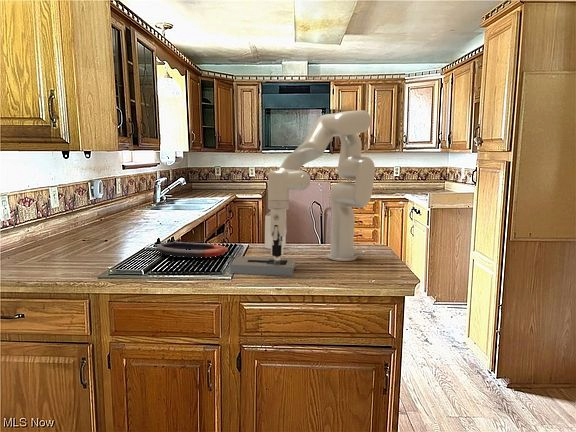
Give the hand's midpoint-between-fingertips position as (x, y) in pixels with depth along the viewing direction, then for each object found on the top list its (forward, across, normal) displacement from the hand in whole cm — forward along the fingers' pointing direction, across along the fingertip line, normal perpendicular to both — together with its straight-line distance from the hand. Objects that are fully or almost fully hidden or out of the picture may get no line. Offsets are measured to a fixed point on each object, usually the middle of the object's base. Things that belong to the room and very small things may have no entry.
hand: (277, 253), depth 158 cm
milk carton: (+6, +39, +6) cm, 40 cm away
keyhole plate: (+6, 0, +5) cm, 8 cm away
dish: (+7, +17, +38) cm, 42 cm away
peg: (+6, 0, 0) cm, 6 cm away
